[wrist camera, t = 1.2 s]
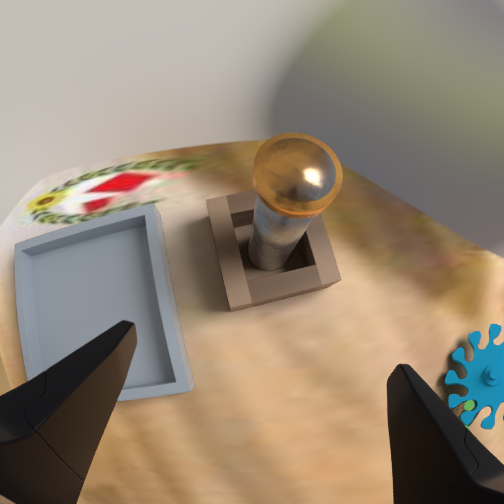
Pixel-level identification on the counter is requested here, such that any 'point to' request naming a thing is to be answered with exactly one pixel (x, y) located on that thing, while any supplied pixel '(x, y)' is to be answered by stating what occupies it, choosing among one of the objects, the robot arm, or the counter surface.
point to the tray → (103, 298)
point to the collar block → (275, 286)
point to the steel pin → (289, 194)
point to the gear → (479, 379)
